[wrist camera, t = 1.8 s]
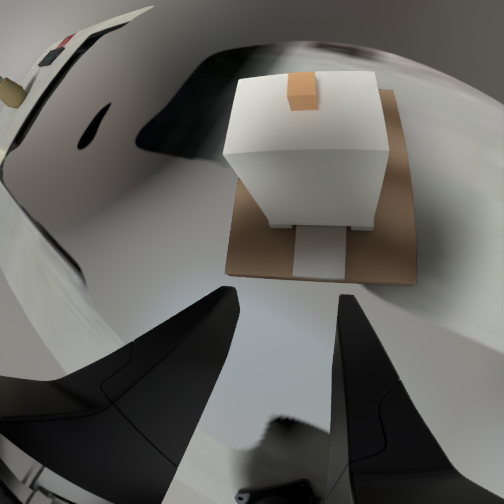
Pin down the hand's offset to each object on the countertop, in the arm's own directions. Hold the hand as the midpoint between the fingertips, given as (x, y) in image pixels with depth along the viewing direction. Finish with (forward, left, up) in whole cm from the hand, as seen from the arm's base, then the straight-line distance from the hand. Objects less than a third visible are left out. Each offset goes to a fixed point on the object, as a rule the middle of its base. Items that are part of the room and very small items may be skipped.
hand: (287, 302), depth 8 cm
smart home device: (-43, +112, -13) cm, 121 cm away
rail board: (+6, +10, -13) cm, 17 cm away
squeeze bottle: (-54, +93, -13) cm, 108 cm away
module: (+4, +7, -11) cm, 14 cm away
